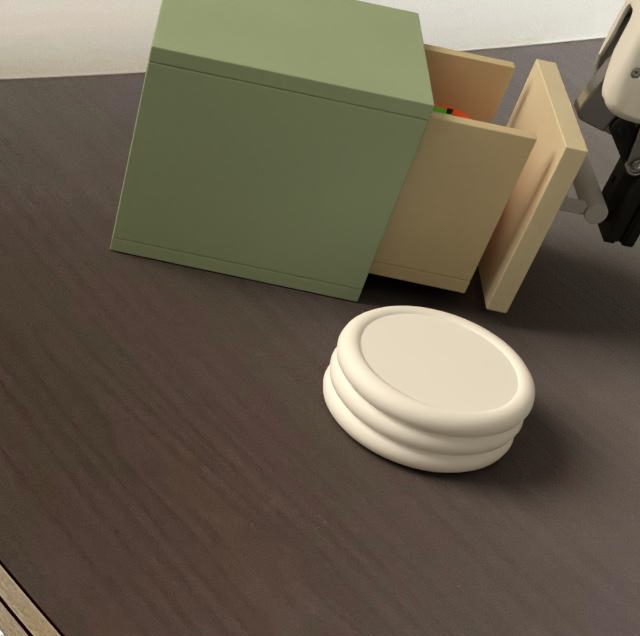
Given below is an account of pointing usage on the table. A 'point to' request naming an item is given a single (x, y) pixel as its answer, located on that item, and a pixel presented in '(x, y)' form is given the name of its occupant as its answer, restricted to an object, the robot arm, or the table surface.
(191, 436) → the table surface
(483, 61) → the drawer
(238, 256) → the cabinet
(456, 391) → the cream round stack
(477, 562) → the table surface
